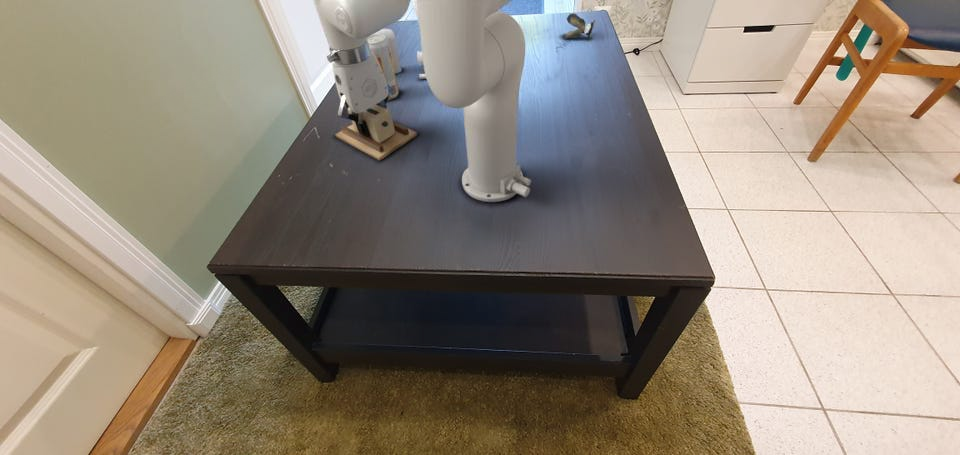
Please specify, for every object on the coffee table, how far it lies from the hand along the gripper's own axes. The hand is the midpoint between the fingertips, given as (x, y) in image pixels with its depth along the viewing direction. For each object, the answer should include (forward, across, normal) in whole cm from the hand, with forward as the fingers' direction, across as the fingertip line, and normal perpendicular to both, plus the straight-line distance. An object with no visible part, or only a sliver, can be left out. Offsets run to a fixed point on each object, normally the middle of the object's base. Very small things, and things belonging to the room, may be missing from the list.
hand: (374, 128), depth 89 cm
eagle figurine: (+2, +76, -13) cm, 77 cm away
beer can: (+2, +15, +12) cm, 19 cm away
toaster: (+1, 0, 0) cm, 1 cm away
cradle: (+2, 0, 0) cm, 2 cm away
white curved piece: (+2, +23, +22) cm, 32 cm away
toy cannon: (+2, +32, +7) cm, 33 cm away
